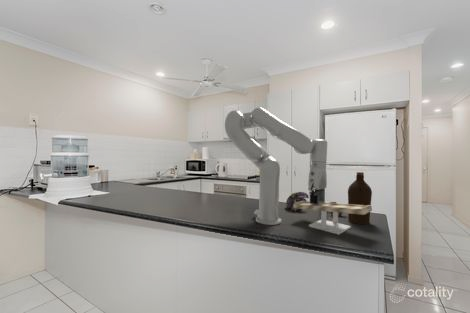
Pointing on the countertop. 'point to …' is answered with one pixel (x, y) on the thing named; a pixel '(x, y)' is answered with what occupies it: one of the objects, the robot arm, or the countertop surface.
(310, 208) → the beam
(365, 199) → the olive oil
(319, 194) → the iron weight
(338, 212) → the pottery mug
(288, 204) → the decorative flower
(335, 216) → the trestle
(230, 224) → the countertop surface
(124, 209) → the countertop surface
